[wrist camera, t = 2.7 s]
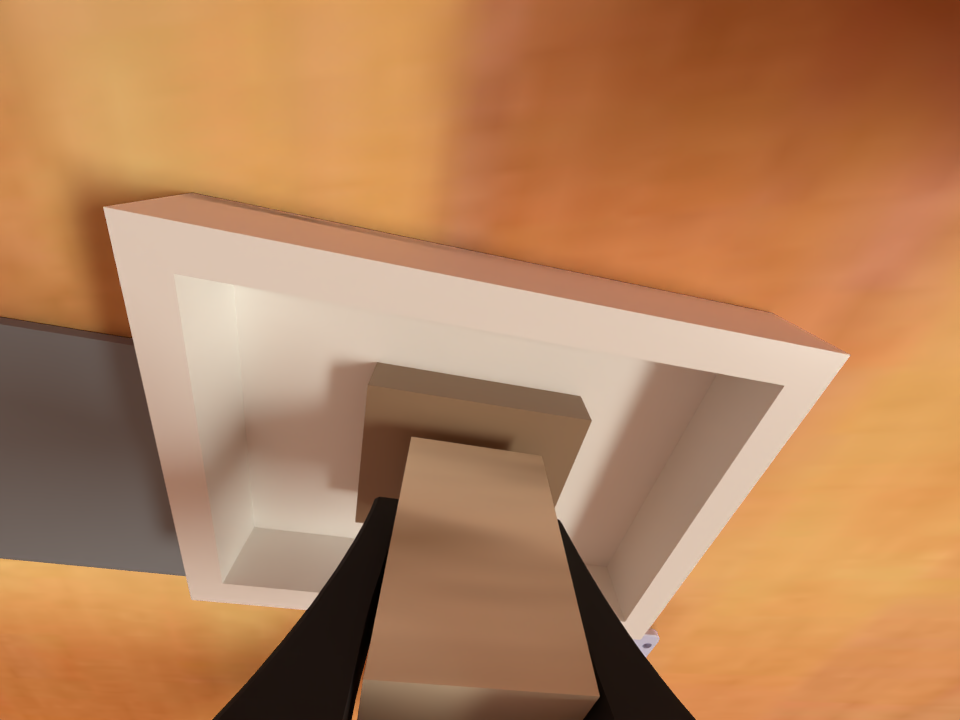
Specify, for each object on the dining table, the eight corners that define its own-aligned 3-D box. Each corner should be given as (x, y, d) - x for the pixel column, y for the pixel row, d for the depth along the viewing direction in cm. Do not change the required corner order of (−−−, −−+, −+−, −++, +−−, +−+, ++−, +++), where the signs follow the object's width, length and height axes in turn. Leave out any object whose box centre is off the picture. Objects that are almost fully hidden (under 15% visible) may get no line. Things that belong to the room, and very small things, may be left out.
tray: (617, 572, 19) (640, 639, 17) (233, 530, 17) (191, 599, 15) (772, 313, 13) (850, 355, 10) (192, 192, 11) (102, 206, 8)
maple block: (510, 541, 14) (536, 783, 9) (396, 527, 13) (349, 775, 8) (542, 456, 12) (599, 697, 7) (411, 436, 12) (362, 679, 6)
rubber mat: (216, 570, 18) (211, 578, 18) (-77, 541, 17) (-89, 549, 17) (179, 346, 13) (171, 351, 13) (-258, 275, 12) (-282, 279, 11)
